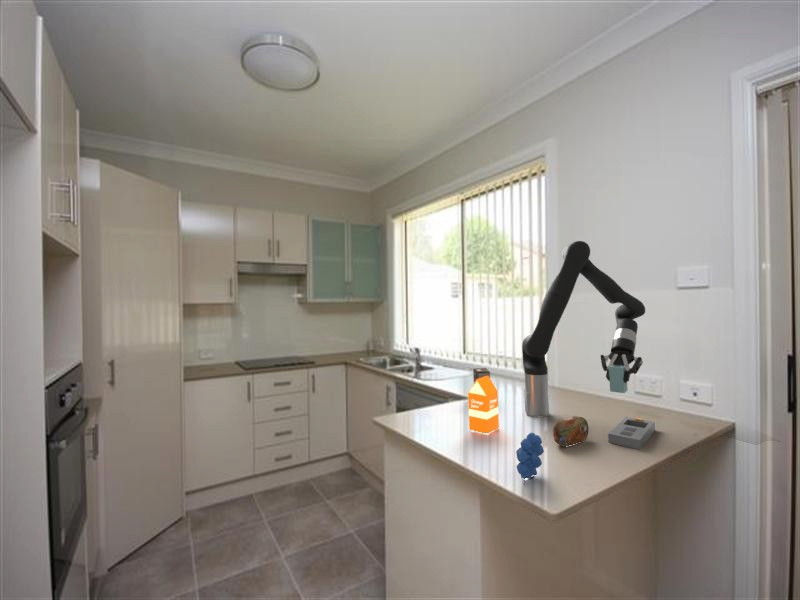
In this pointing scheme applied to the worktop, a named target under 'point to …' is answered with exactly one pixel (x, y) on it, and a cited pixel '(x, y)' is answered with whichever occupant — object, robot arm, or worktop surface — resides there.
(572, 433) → the tin
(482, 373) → the coffee box
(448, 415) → the worktop surface
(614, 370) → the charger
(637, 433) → the power strip
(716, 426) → the worktop surface
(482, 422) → the orange juice
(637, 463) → the worktop surface
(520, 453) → the grapes
